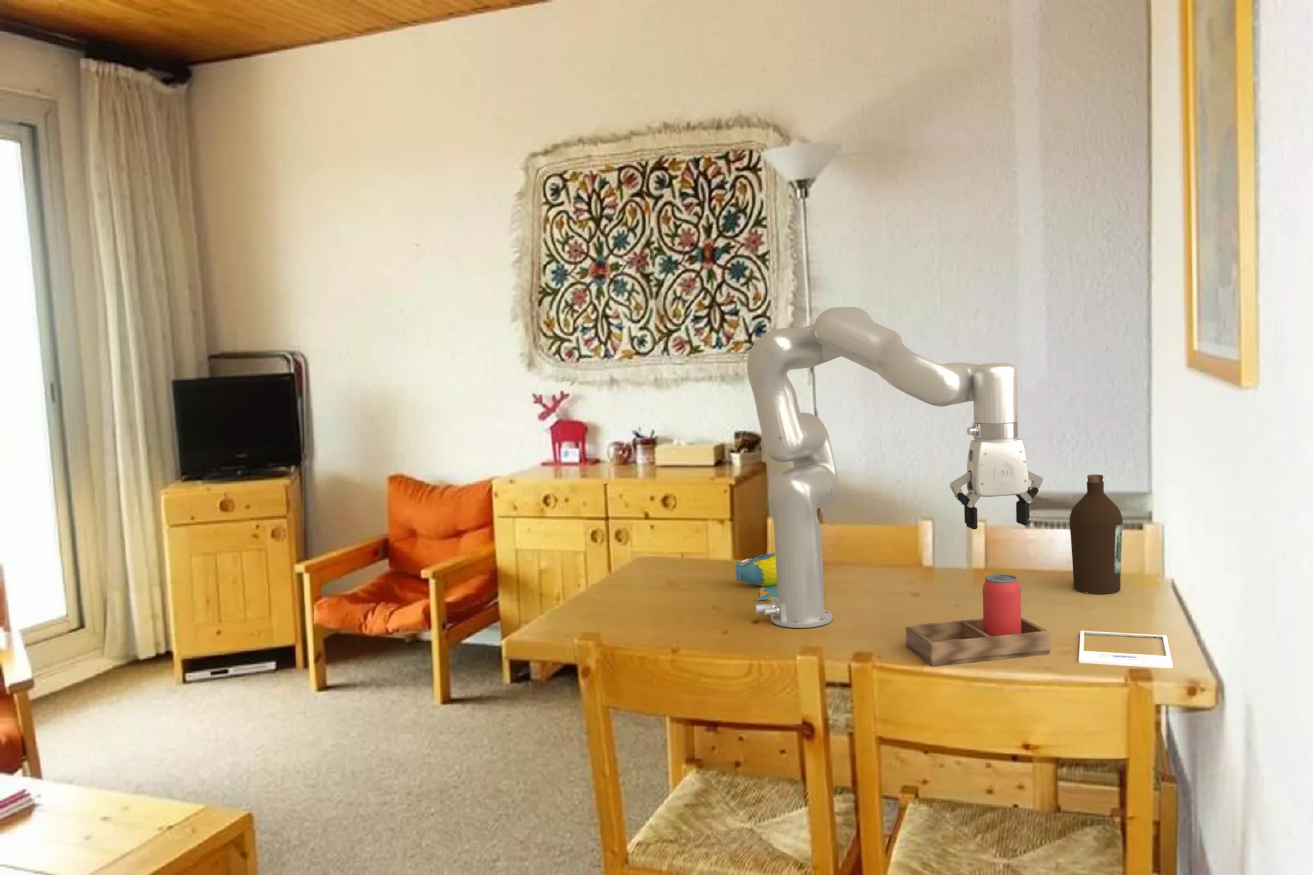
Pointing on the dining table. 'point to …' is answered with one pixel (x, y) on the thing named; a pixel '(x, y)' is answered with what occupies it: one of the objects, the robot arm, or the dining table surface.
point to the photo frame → (1125, 658)
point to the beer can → (1001, 605)
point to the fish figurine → (759, 573)
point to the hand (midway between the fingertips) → (997, 526)
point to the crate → (973, 642)
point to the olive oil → (1096, 541)
